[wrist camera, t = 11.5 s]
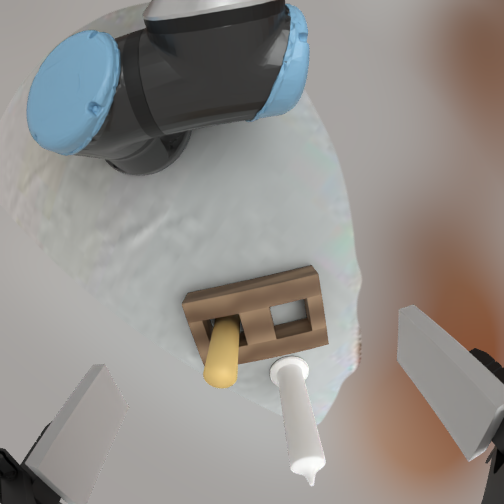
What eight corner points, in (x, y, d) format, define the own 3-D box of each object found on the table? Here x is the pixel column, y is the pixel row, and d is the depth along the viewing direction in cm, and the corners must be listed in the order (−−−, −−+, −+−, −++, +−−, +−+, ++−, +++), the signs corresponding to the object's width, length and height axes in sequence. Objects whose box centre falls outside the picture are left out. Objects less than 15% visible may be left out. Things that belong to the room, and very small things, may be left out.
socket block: (187, 293, 44) (181, 304, 40) (311, 265, 44) (318, 273, 39) (208, 354, 47) (205, 369, 43) (322, 330, 46) (328, 344, 42)
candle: (286, 391, 49) (304, 501, 25) (261, 371, 48) (269, 488, 24) (315, 370, 48) (351, 479, 24) (292, 348, 47) (320, 465, 23)
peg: (212, 311, 45) (198, 365, 31) (236, 306, 45) (232, 360, 30) (219, 332, 46) (209, 390, 31) (242, 327, 46) (240, 385, 31)
